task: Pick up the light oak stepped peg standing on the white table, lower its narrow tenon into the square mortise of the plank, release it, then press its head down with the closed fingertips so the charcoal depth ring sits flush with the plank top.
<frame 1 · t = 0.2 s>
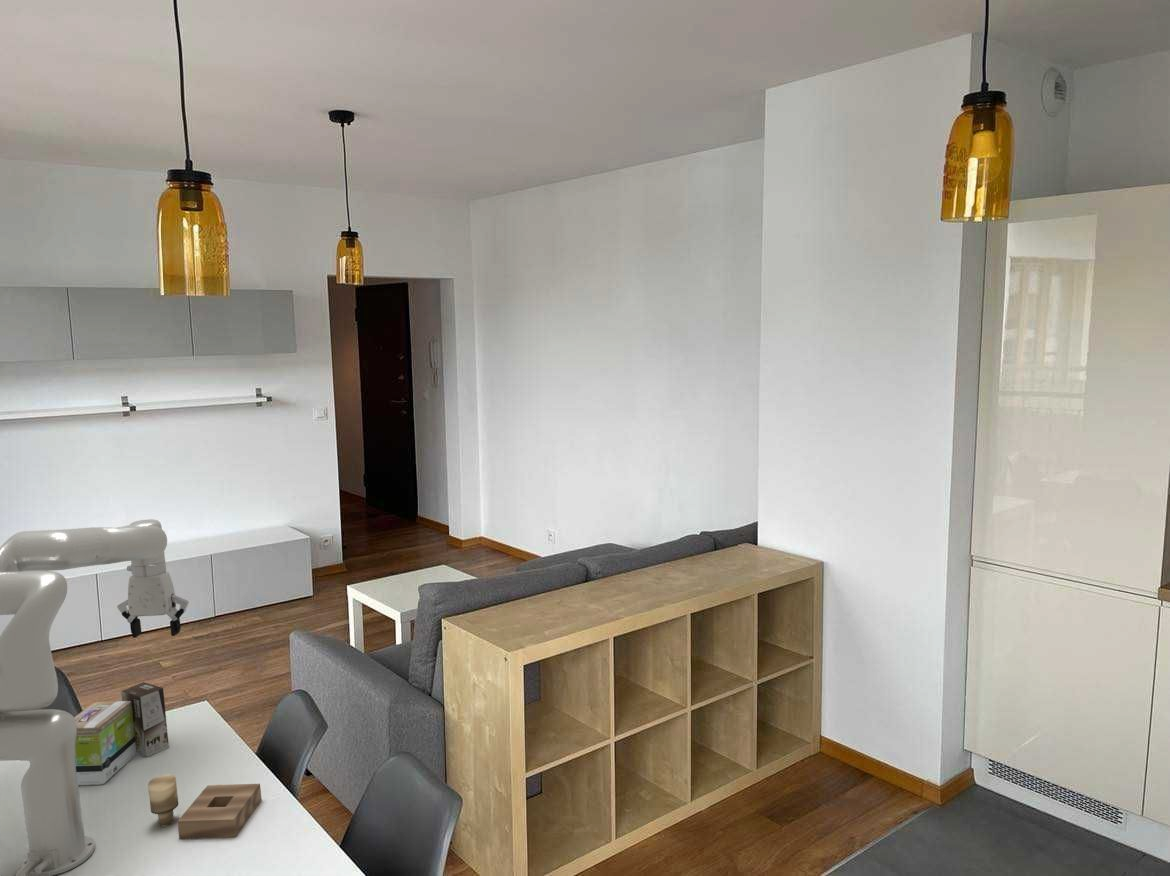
hand: (156, 635, 212), 31 cm above the table, fingers open, 9 cm apart
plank: (221, 818, 184), on the table
coffee box: (148, 749, 218), on the table, touching tea box
peg: (166, 822, 183), on the table
tea box: (102, 770, 208), on the table, touching coffee box
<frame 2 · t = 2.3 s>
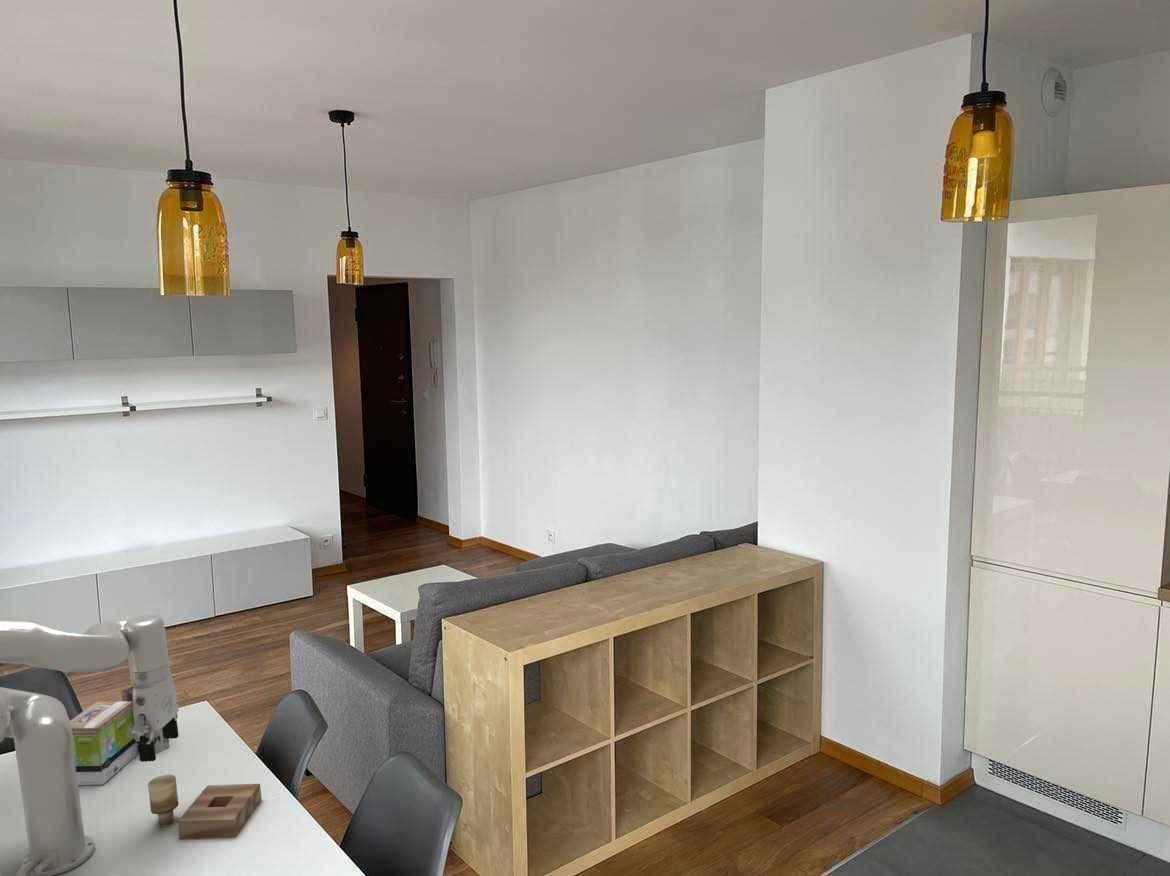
hand: (159, 749, 182), 17 cm above the table, fingers open, 9 cm apart
nothing on the table moved.
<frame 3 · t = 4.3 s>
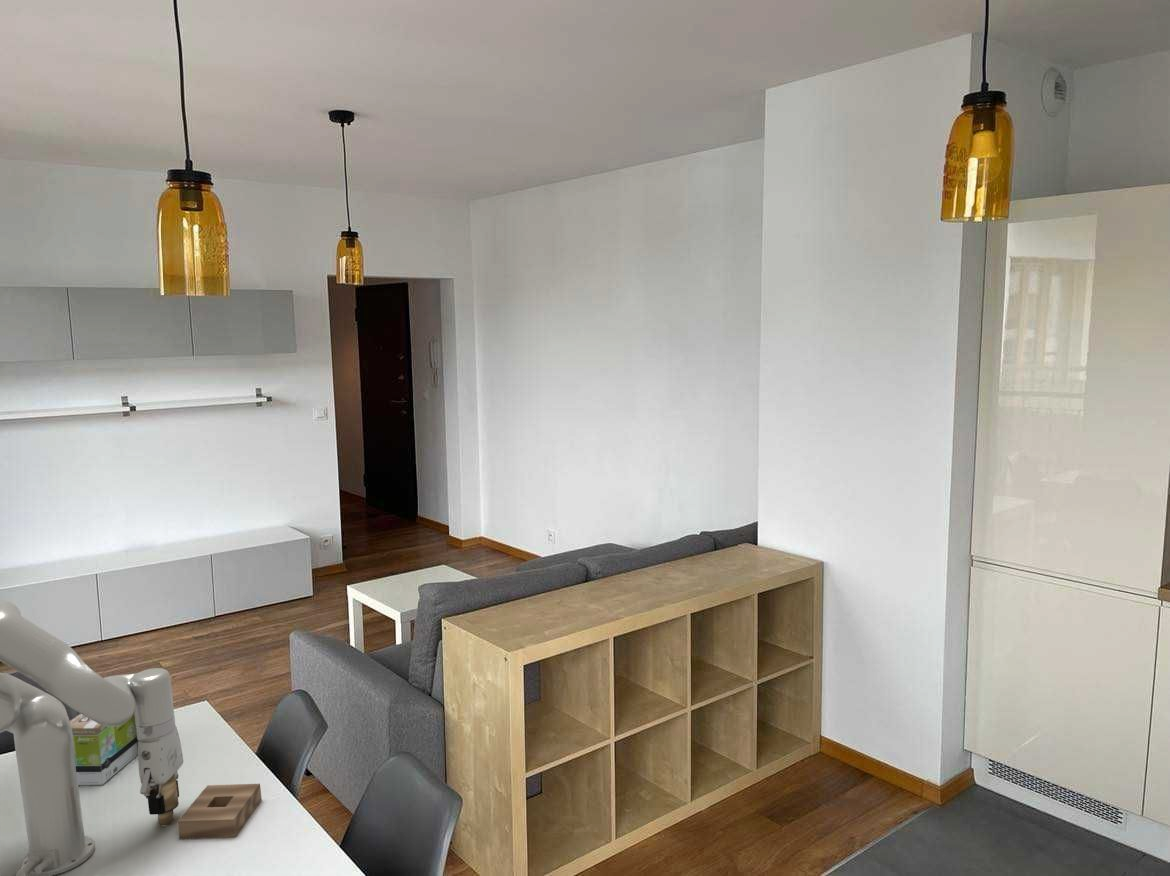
hand: (164, 804, 183), 4 cm above the table, fingers closed on peg, 5 cm apart
peg: (166, 821, 183), on the table, touching gripper
everything else where it was.
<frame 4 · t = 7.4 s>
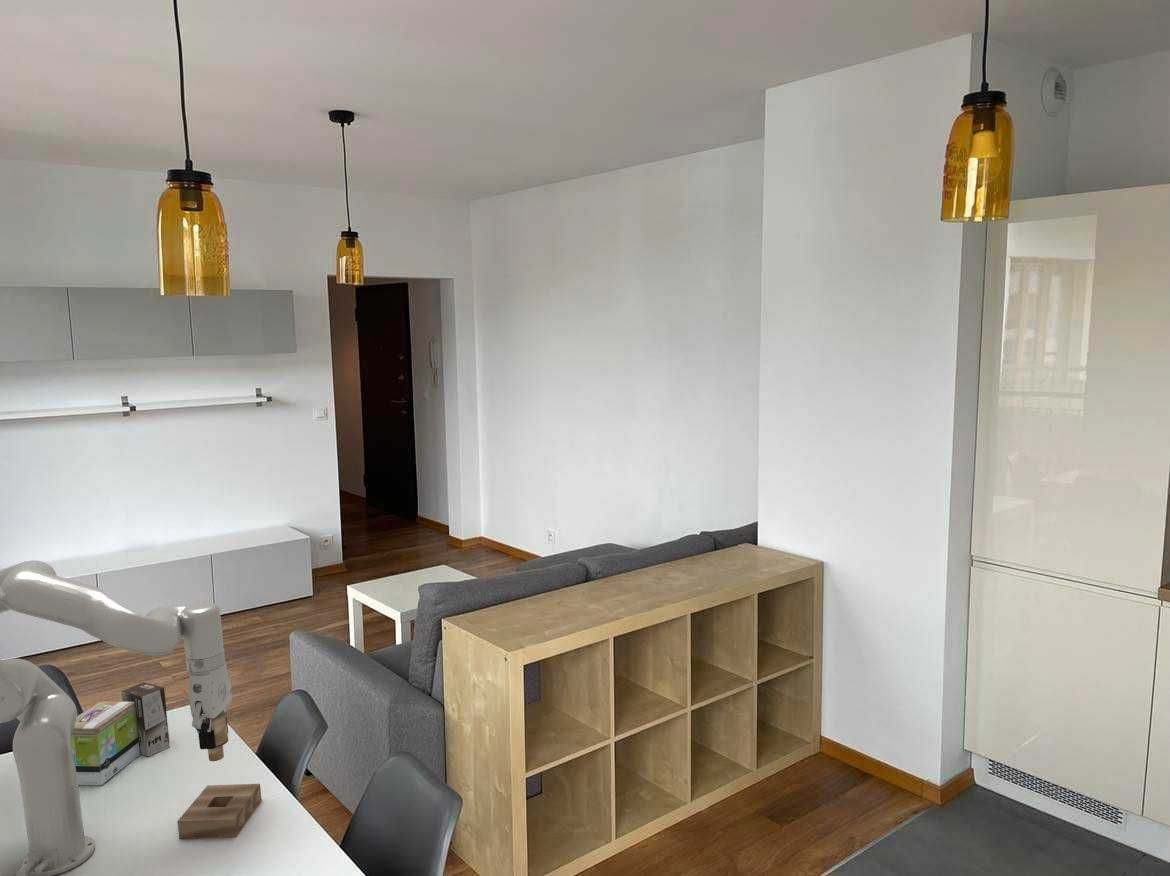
hand: (214, 740, 182), 18 cm above the table, fingers closed on peg, 5 cm apart
coffee box: (149, 749, 218), on the table
peg: (216, 757, 182), point 14 cm above the table, touching gripper
tea box: (104, 770, 207), on the table
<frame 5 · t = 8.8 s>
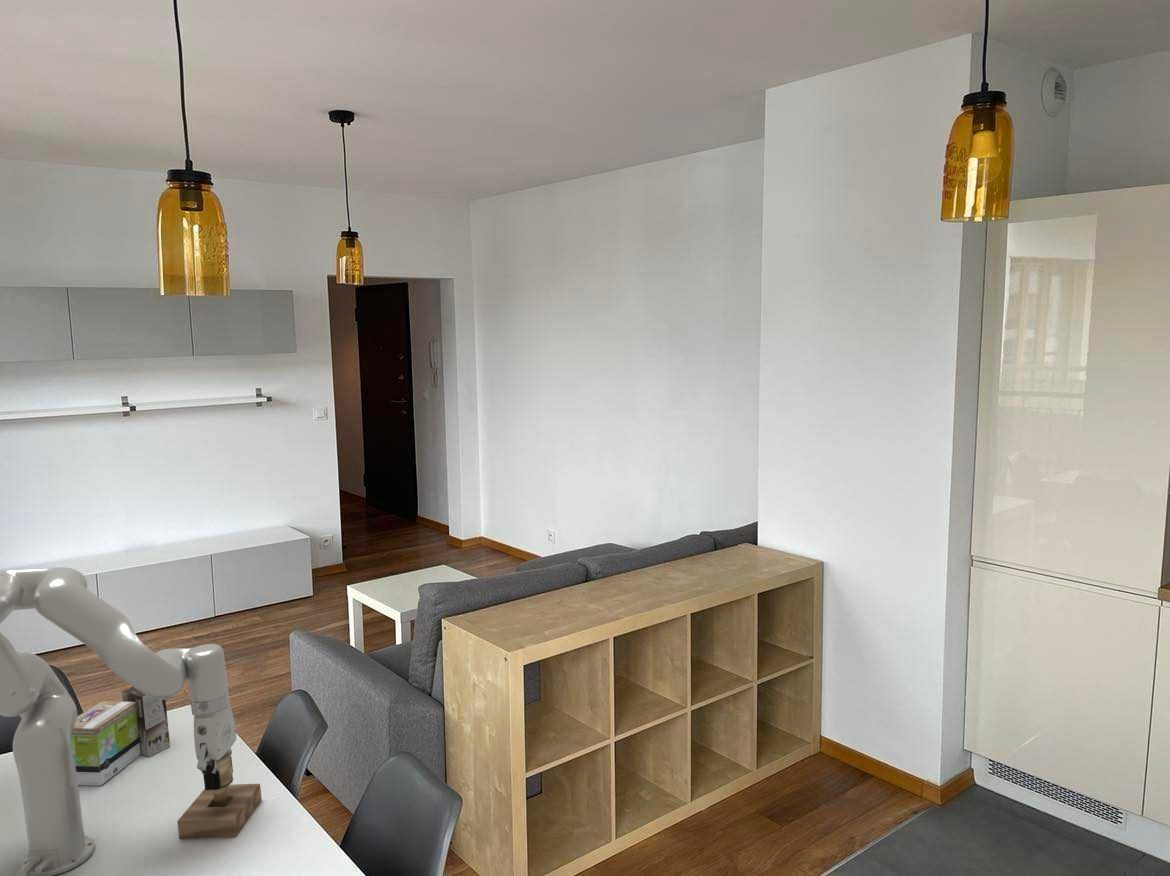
hand: (219, 780, 183), 9 cm above the table, fingers closed on peg, 5 cm apart
coffee box: (149, 748, 218), on the table, touching tea box
peg: (221, 797, 183), point 5 cm above the table, touching gripper
tea box: (104, 770, 207), on the table, touching coffee box
when the fingers open (6 cm above the table, at t = 10.3 s): peg drops 1 cm, resting on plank.
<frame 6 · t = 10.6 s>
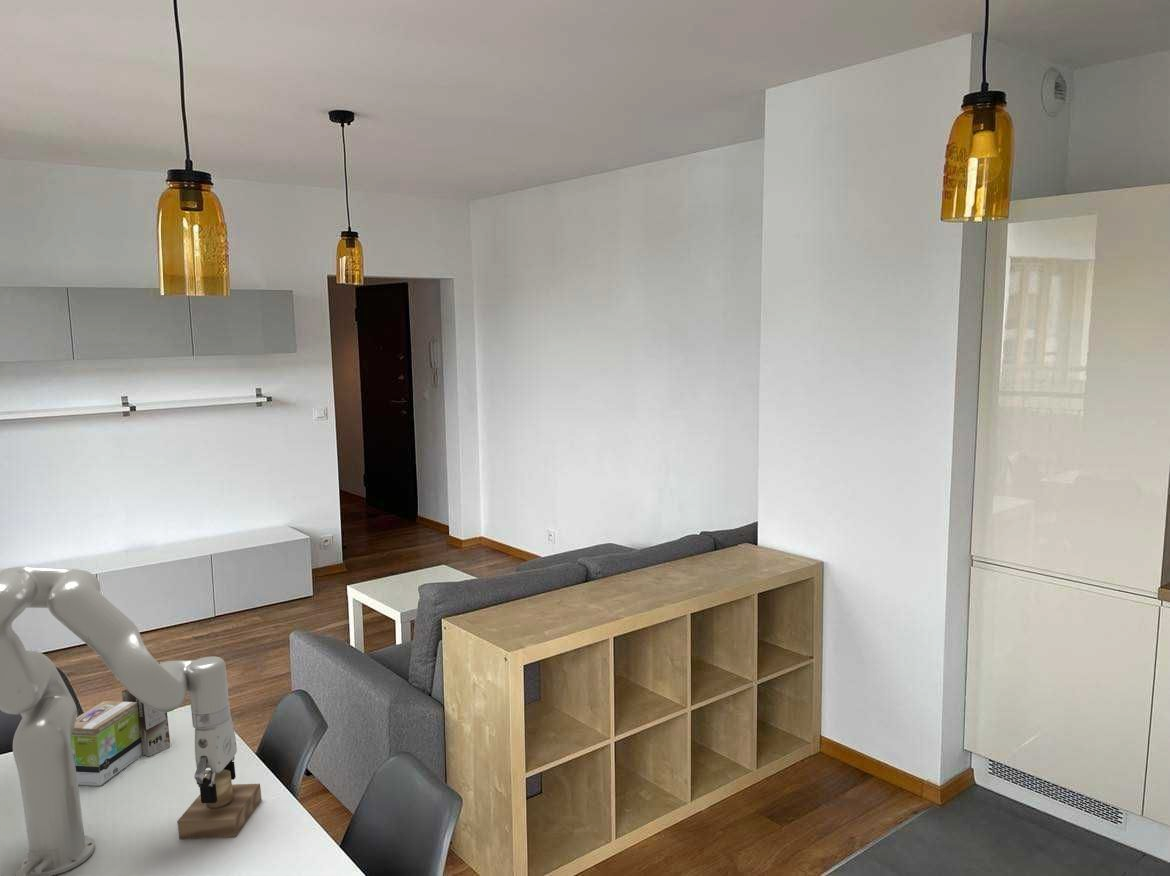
hand: (219, 790, 183), 7 cm above the table, fingers open, 8 cm apart
peg: (221, 816, 184), resting on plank
everything else where it was.
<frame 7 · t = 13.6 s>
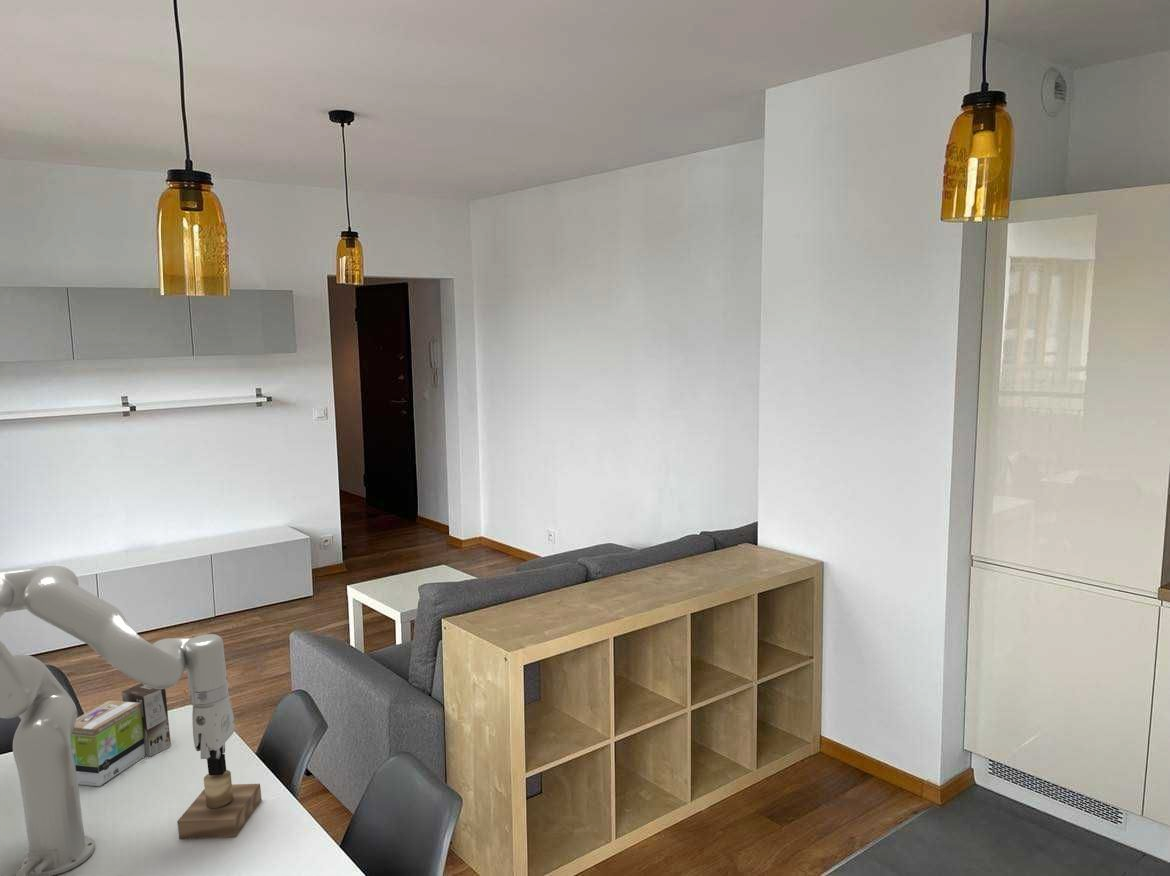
hand: (217, 773, 183), 11 cm above the table, fingers closed
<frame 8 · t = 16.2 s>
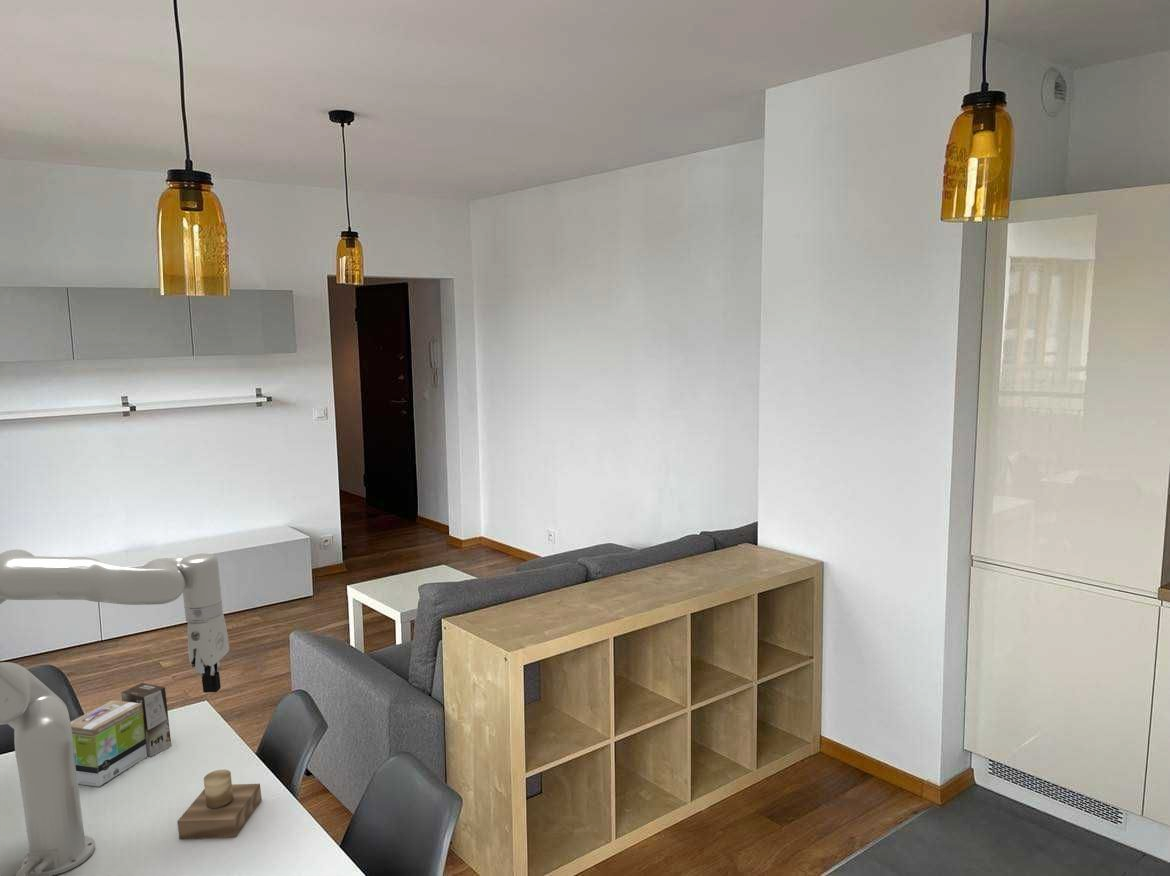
hand: (212, 690, 186), 27 cm above the table, fingers closed
coffee box: (150, 749, 218), on the table
tea box: (109, 770, 207), on the table
everything else where it was.
at the end: peg 0.0 cm off-centre on the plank, point 0.5 cm above the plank's base; peg tilted 0°; the gripper is holding nothing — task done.
